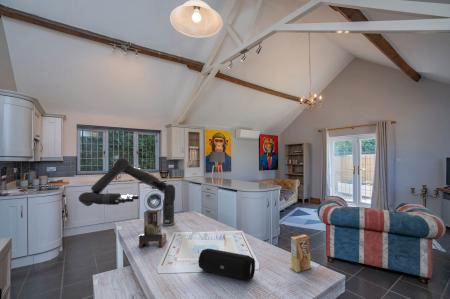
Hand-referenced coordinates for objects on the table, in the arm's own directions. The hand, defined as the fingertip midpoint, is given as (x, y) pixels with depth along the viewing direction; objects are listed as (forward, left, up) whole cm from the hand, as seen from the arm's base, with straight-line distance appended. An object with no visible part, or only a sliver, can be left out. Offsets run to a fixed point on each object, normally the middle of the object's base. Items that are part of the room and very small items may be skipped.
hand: (135, 198), depth 143 cm
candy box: (+37, +96, -28) cm, 107 cm away
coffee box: (+5, +13, -23) cm, 27 cm away
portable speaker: (+41, +60, -28) cm, 78 cm away
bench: (+5, +13, -28) cm, 31 cm away
